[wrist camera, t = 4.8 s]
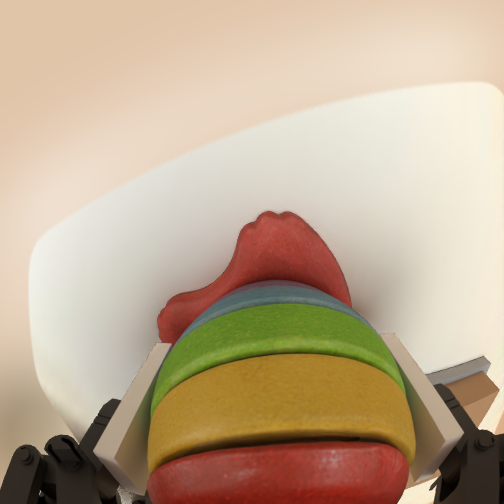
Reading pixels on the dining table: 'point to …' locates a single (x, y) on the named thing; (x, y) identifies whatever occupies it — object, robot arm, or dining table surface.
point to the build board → (459, 371)
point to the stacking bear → (277, 385)
